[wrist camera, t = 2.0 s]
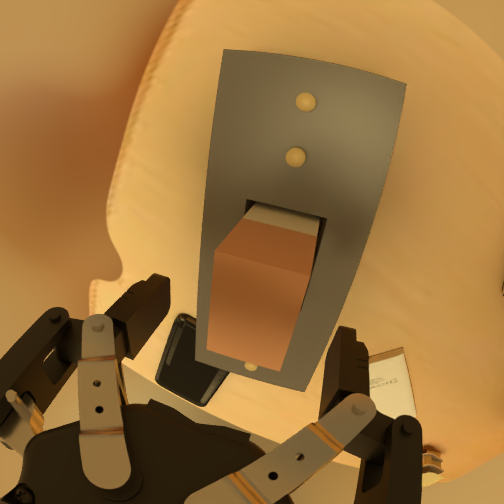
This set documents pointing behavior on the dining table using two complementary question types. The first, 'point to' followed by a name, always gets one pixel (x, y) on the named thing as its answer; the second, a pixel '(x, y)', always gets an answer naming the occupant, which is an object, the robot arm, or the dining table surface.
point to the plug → (261, 284)
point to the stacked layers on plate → (431, 468)
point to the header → (297, 181)
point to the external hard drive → (391, 384)
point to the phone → (187, 365)
